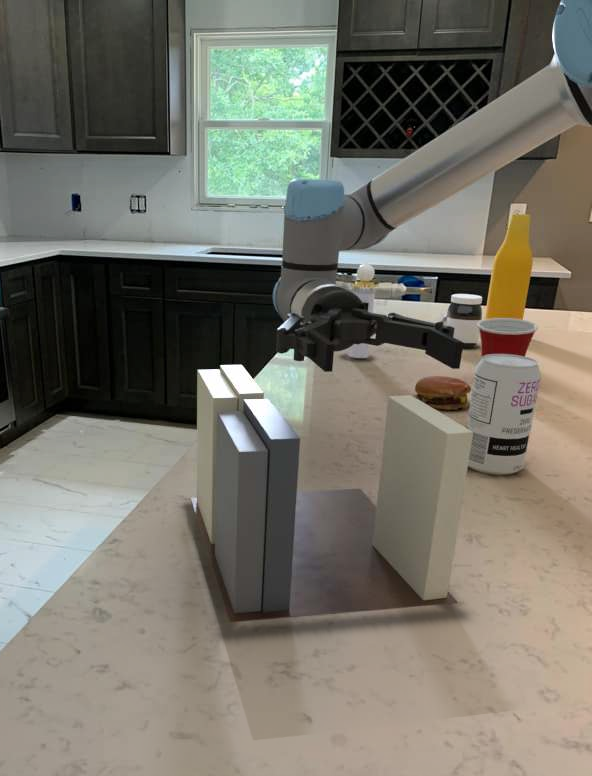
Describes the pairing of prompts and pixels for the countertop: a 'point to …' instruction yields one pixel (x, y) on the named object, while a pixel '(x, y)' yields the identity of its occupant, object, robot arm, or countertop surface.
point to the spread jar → (464, 318)
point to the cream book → (421, 493)
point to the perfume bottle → (367, 297)
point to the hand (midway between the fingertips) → (395, 357)
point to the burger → (443, 392)
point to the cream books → (216, 396)
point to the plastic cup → (505, 336)
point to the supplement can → (502, 412)
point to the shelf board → (331, 561)
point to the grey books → (256, 505)
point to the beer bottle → (511, 272)
